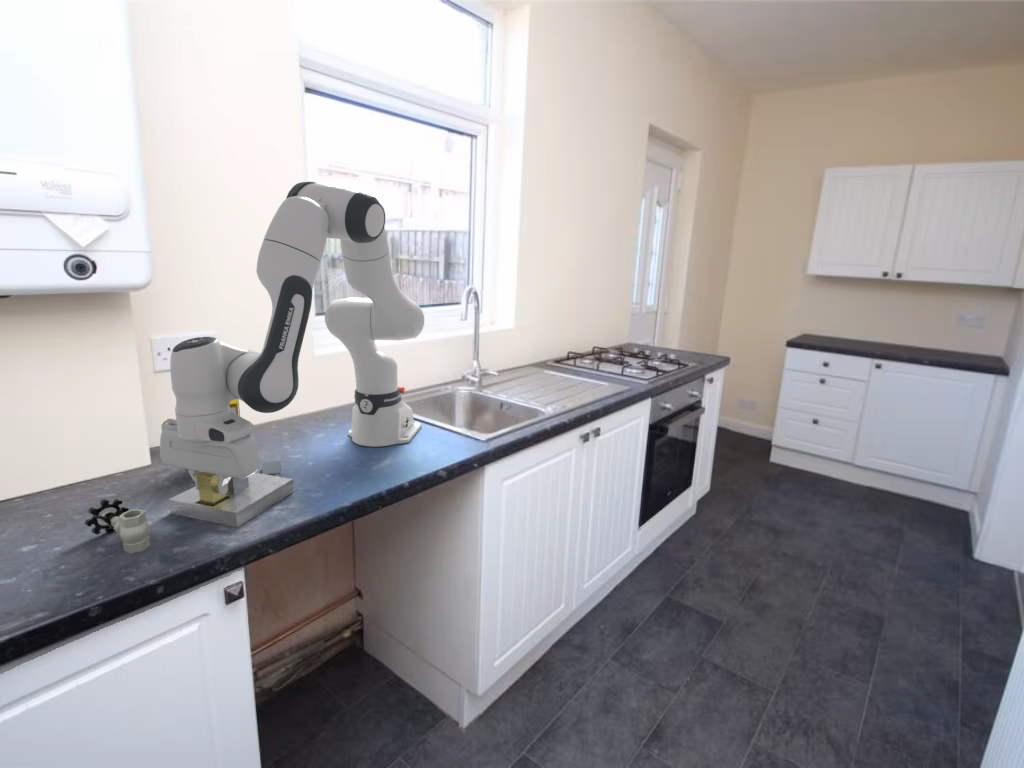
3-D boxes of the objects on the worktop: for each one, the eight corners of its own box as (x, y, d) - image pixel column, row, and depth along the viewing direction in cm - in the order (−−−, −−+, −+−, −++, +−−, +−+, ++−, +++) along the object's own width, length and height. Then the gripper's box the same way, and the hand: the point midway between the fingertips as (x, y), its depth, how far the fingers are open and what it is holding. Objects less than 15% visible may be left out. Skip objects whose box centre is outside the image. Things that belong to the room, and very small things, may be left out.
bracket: (281, 467, 128) (280, 460, 127) (280, 485, 118) (279, 477, 118) (263, 470, 126) (262, 462, 126) (261, 488, 117) (260, 480, 116)
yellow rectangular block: (201, 512, 103) (196, 474, 101) (214, 505, 106) (210, 468, 104) (214, 515, 102) (210, 477, 100) (227, 507, 105) (223, 470, 103)
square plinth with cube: (233, 480, 119) (229, 447, 117) (293, 491, 115) (291, 457, 113) (170, 513, 104) (165, 475, 102) (237, 527, 100) (233, 488, 98)
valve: (163, 543, 94) (128, 524, 100) (159, 509, 92) (123, 492, 98) (122, 561, 88) (87, 539, 94) (116, 525, 87) (81, 506, 92)
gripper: (146, 422, 99) (156, 489, 103) (235, 435, 94) (242, 506, 98) (175, 412, 105) (183, 476, 109) (261, 425, 100) (267, 492, 103)
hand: (212, 490), depth 103 cm, fingers closed on yellow rectangular block, 3 cm apart
